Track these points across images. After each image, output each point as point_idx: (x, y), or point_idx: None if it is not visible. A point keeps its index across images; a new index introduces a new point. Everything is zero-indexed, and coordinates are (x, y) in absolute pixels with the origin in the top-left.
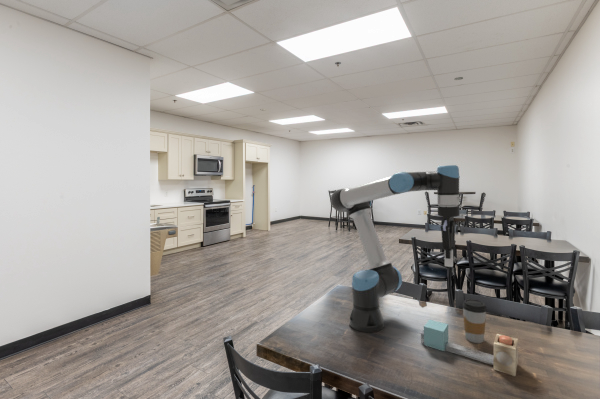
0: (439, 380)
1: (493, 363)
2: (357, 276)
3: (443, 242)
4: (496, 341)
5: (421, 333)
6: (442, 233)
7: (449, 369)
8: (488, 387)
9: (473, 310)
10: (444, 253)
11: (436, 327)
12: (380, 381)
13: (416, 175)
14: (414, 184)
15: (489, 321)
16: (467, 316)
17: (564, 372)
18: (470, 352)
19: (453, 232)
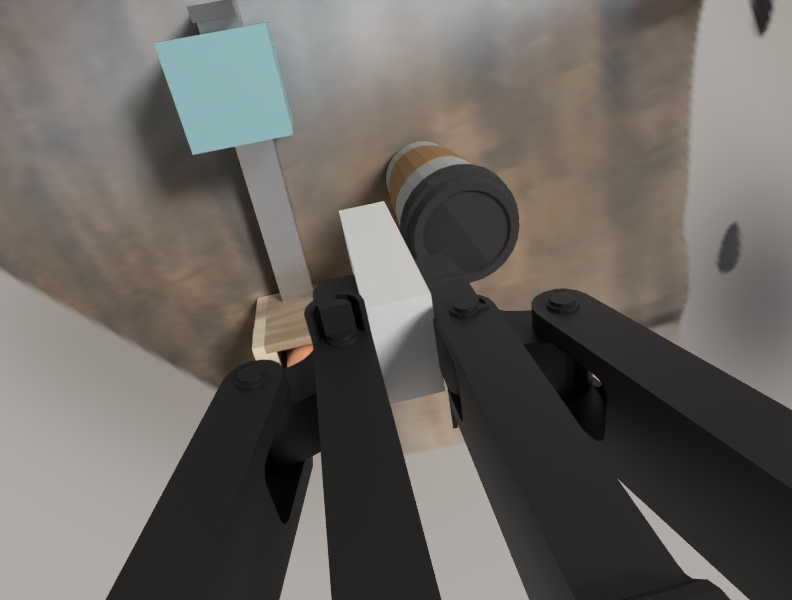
0: (18, 209)
1: (256, 308)
2: None
3: (174, 501)
4: (277, 349)
5: (188, 10)
6: None
7: (119, 202)
8: (145, 323)
9: (405, 243)
10: (355, 278)
11: (205, 105)
12: None
13: None
14: None
15: (625, 156)
16: (401, 197)
17: (401, 410)
18: (263, 229)
19: (758, 594)
